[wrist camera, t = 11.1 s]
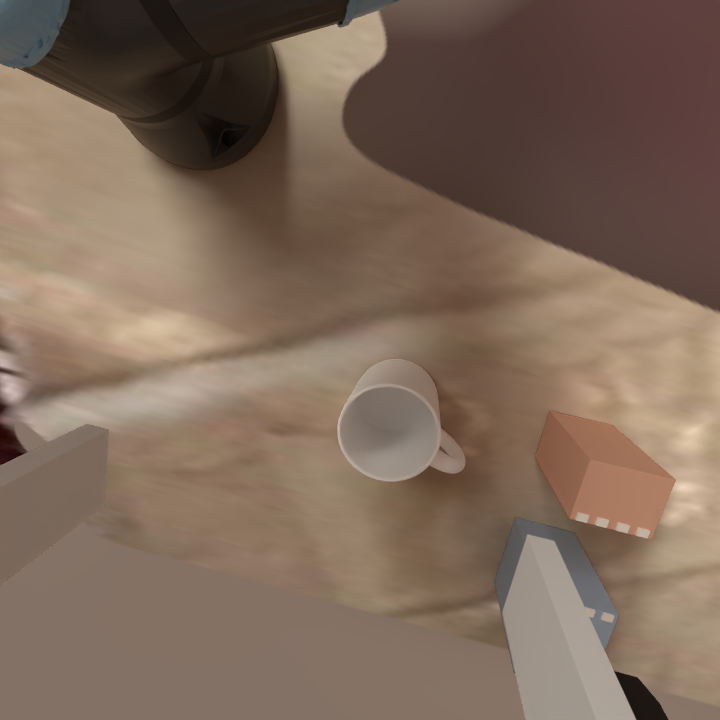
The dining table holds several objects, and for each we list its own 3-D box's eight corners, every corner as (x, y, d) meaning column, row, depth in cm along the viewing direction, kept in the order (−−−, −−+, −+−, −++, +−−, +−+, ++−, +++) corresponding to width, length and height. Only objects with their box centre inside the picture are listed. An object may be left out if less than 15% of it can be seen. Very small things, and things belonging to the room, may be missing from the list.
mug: (485, 411, 44) (502, 455, 34) (433, 471, 46) (435, 528, 36) (387, 340, 44) (376, 362, 34) (340, 403, 46) (317, 441, 36)
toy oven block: (515, 517, 46) (542, 595, 35) (574, 532, 45) (620, 617, 35) (494, 581, 48) (514, 675, 37) (550, 597, 47) (587, 696, 36)
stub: (549, 410, 43) (591, 460, 32) (613, 425, 42) (677, 481, 32) (534, 457, 44) (570, 520, 33) (596, 472, 44) (652, 541, 33)
